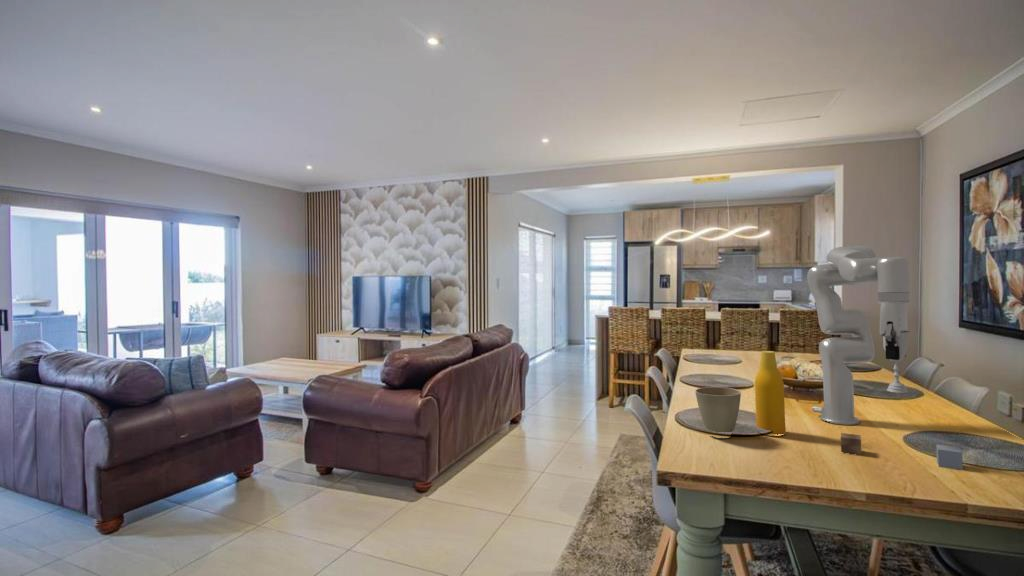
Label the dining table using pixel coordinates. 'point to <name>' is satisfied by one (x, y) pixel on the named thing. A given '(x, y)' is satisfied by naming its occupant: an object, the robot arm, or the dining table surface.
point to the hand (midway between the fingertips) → (896, 357)
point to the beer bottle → (769, 395)
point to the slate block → (949, 457)
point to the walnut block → (851, 443)
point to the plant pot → (718, 407)
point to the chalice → (903, 348)
